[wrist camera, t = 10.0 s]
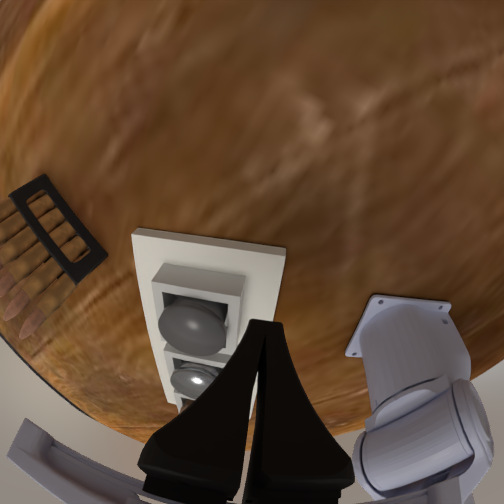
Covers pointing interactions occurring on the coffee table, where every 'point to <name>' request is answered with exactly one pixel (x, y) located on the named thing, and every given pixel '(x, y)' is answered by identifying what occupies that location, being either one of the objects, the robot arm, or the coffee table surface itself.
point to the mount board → (204, 289)
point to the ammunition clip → (43, 250)
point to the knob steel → (193, 378)
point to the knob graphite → (194, 325)
